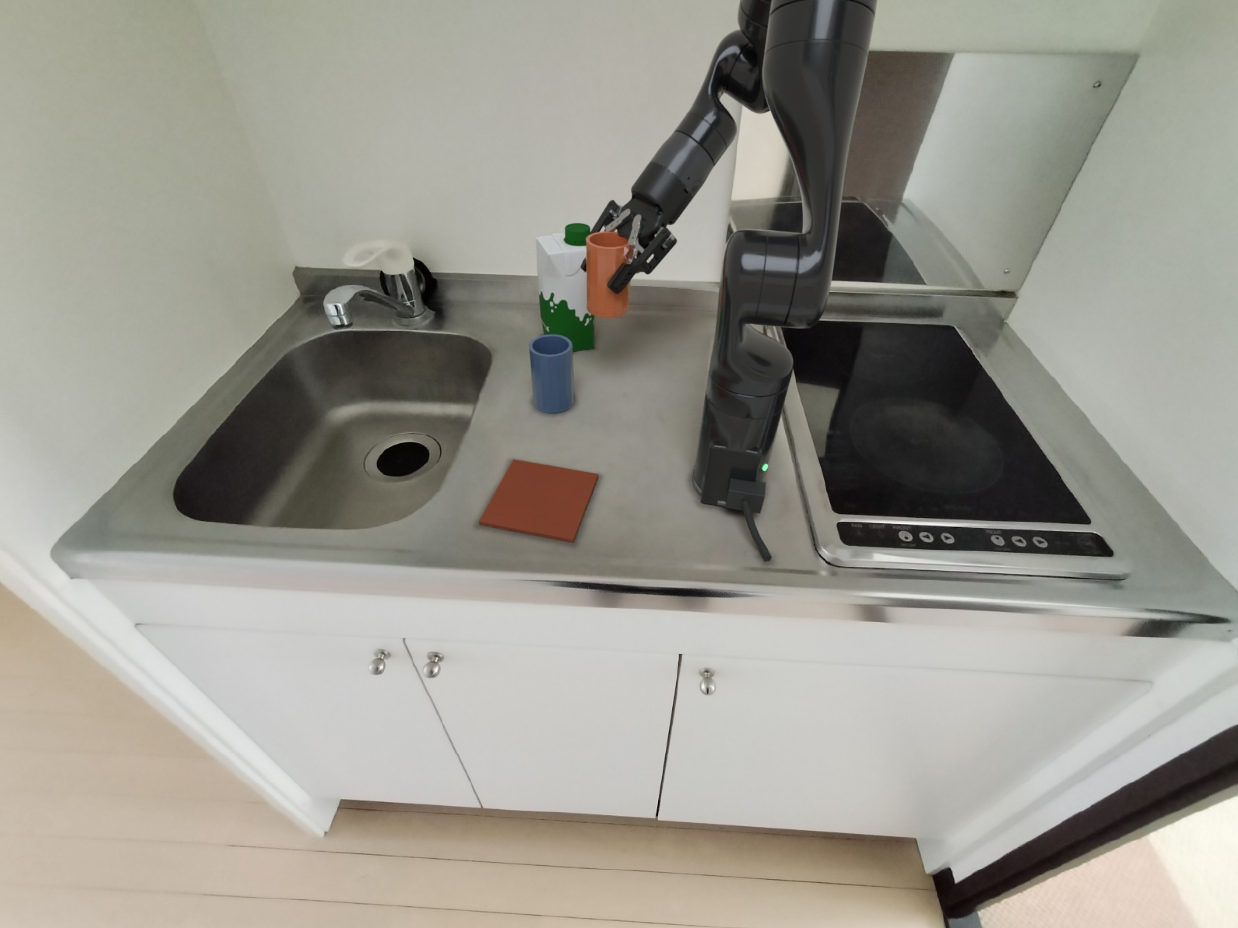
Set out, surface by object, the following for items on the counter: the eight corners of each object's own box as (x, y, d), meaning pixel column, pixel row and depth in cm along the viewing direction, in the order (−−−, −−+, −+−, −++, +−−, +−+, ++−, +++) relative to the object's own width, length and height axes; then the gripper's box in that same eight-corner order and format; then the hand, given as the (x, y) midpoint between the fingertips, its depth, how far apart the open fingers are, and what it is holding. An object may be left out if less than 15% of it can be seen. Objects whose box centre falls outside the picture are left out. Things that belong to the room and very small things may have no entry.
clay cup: (631, 317, 85) (634, 248, 79) (587, 318, 85) (587, 248, 78) (626, 298, 90) (629, 231, 84) (585, 299, 90) (584, 231, 83)
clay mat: (573, 542, 72) (573, 539, 71) (479, 524, 73) (478, 521, 73) (598, 477, 80) (598, 473, 80) (513, 462, 82) (513, 458, 82)
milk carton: (600, 350, 105) (601, 236, 92) (550, 358, 102) (543, 242, 89) (584, 326, 111) (583, 216, 98) (537, 334, 109) (529, 222, 95)
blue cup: (567, 416, 90) (565, 359, 84) (528, 410, 91) (522, 352, 85) (578, 393, 95) (577, 337, 88) (541, 387, 96) (537, 331, 89)
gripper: (626, 147, 83) (555, 248, 85) (693, 174, 74) (611, 286, 76) (654, 183, 89) (587, 276, 91) (719, 212, 80) (642, 314, 82)
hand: (598, 280), depth 84 cm, fingers closed on clay cup, 6 cm apart
